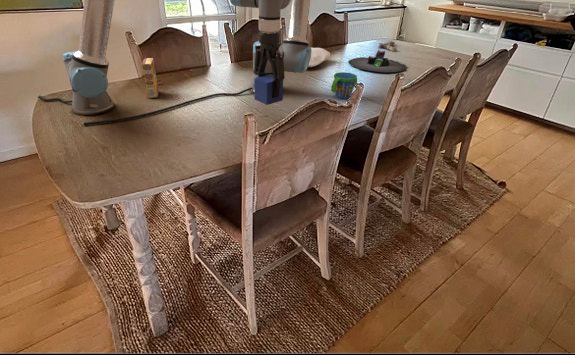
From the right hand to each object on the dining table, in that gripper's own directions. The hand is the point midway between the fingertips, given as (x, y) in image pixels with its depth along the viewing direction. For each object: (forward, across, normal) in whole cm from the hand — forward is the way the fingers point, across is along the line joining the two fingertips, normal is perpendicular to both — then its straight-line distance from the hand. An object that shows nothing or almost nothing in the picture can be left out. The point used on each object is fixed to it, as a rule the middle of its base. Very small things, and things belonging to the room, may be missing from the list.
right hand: (268, 94), depth 141 cm
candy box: (+11, +55, +23) cm, 61 cm away
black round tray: (+11, +23, -106) cm, 109 cm away
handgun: (+11, +45, -154) cm, 160 cm away
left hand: (-21, +48, +84) cm, 99 cm away
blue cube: (+2, 0, 0) cm, 2 cm away
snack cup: (+11, 0, -47) cm, 48 cm away
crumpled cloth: (+11, +51, -71) cm, 88 cm away
